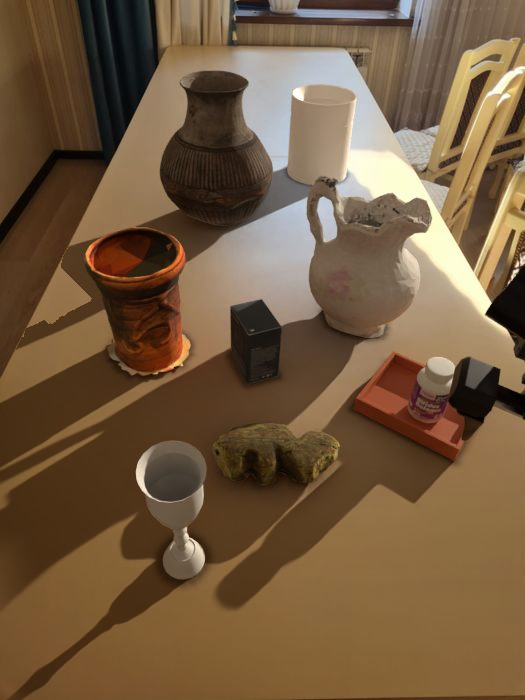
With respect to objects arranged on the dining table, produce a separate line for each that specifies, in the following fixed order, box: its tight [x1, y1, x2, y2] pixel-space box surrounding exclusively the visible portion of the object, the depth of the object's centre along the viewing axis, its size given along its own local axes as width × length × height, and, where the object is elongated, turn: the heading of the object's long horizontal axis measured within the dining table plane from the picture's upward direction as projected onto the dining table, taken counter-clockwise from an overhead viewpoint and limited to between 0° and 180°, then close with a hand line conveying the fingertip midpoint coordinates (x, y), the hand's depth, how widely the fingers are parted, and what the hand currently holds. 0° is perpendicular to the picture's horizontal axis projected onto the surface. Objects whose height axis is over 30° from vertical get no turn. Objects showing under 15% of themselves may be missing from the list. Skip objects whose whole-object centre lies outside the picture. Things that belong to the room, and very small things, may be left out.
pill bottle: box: [408, 356, 456, 423], centre depth 79 cm, size 5×5×10 cm
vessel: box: [83, 226, 192, 377], centre depth 85 cm, size 14×14×20 cm
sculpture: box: [211, 422, 341, 486], centre depth 74 cm, size 18×5×10 cm
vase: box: [159, 70, 274, 227], centre depth 116 cm, size 25×25×30 cm
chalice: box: [135, 439, 208, 580], centre depth 59 cm, size 7×7×18 cm
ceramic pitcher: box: [306, 176, 433, 339], centre depth 92 cm, size 22×20×25 cm
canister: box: [286, 83, 358, 186], centre depth 139 cm, size 16×16×20 cm
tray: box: [353, 350, 466, 462], centre depth 83 cm, size 16×13×3 cm
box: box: [229, 298, 283, 385], centre depth 86 cm, size 8×6×11 cm
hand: (501, 454), depth 63 cm, fingers open, 9 cm apart
